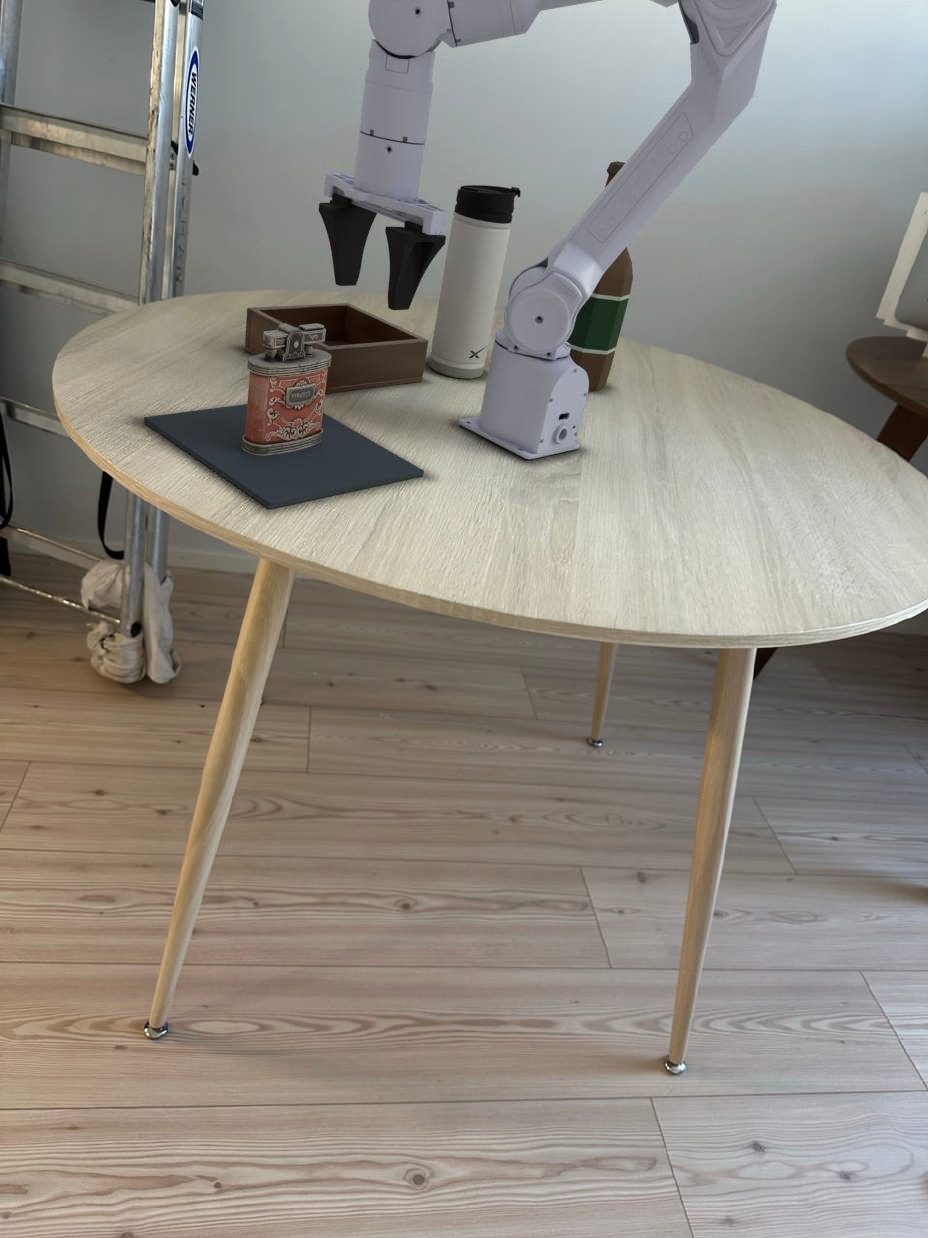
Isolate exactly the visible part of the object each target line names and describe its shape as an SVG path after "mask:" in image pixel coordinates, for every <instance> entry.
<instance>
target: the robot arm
mask: <svg viewBox="0 0 928 1238" xmlns="http://www.w3.org/2000/svg"><path fill="white" fill-rule="evenodd" d="M601 1H603V0H369V2H368V11H367V13H368V14H367V15H368V24H369V27H370V30H371V33H372V35H373V36H374V38H372V39H371V43H370V47H369V52H368V60H369V61H368V68H367V70H366V72H365V78H364V88H363V95H362V103H361V104H362V105H361V112H360V113H361V114H360V123H359V132H358V140H357V150H356V158H355V168H354V175H353V177H352V176H349V175H346V174H343V173H331V172H327V173H325V178H324V190H323V195H324V196H325V197H328V198H331V199H329V202H322V201H321V202H319V204H318V213H319V215H320V217H321V219H322V221H323V222H322V223H323V225H324V227H325V231H326V234H327V237H328V241H329V246H330V247H329V248H330V252H331V259H332V267H333V275H334V282H335V286H336V285H337V286H339V287H353V286H356V287H357V284H358V281H359V278H360V275H361V268H362V263H363V258H364V257H363V256H364V252H365V247H366V243H367V240H368V236H369V233H370V231H371V229H372V226H373V223H374V222H375V219H376V217H377V215H381V216H384V217H387V218H389V219H390V220H395V221H397V222H400V223H402V224H404V225H403V226H385V229H384V232H385V237H386V242H387V248H388V256H389V277H388V286H387V308H388V309H390V310H392V311H406V310H407V311H408V310H410V307H411V305H412V302H413V300H414V297H415V295H416V292H417V290H418V288H419V286H420V283H421V282H422V279H423V277H424V275H425V273H426V271H427V270H428V268H429V266H430V264H431V263H432V261H433V260H434V258H436V256H437V254H439V252H440V251H441V249H442V248H444V246H445V245H446V241H447V236H446V234H447V230H448V229H447V228H448V223H449V222H448V221H449V216H450V211H447V210H445V209H442V208H440V207H438V206H436V205H434V204H433V203H431V202H429V201H427V200H426V199H424V198H422V197H419V196H418V195H419V188H420V180H421V176H422V175H421V174H422V167H423V161H424V153H425V147H426V139H427V132H428V124H429V119H430V111H431V105H432V104H431V103H432V98H433V92H434V84H433V73H434V68H435V59H436V55H437V54H436V53H437V52H436V51H435V50H436V49H437V48H438V47H439V46H440V45H441V44H442V42H443V43H445V44H446V45H447V46H448V47H449V48H451V49H455V48H459V47H464V46H470V45H474V44H479V43H485V42H490V41H495V40H500V39H504V38H510V37H515V36H520V35H525V34H527V32H528V31H529V30H530V28H531V27H532V25H533V24H534V22H535V19H536V18H537V16H538V15H539V14H540V12H542V11H548V10H549V11H550V10H554V9H559V8H566V7H571V6H578V5H583V4H589V3H590V4H591V3H596V2H601ZM650 1H651V2H653V3H655V4H657V5H660V6H662V7H664V8H669V7H671V6H674V5H676V4H677V5H678V8H679V12H680V14H681V17H682V20H683V23H684V25H685V28H686V31H687V34H688V37H689V41H690V42H689V52H690V54H689V55H690V56H689V57H690V83H689V85H688V86H686V88H685V89H684V91H683V92H682V93H681V95H680V96H679V97H678V98H677V99H676V100H675V102H674V103H673V104H672V106H671V107H669V109H668V110H667V111H666V113H665V114H664V115H663V117H662V118H661V119H660V120H659V121H658V123H657V124H656V125H655V126H654V128H653V129H652V130H651V131H650V132H649V133H648V135H647V136H646V137H645V138H644V139H643V141H642V142H641V143H640V145H638V147H637V148H636V149H635V150H634V151H633V153H632V154H631V156H630V157H629V158H628V159H627V160H626V162H624V163H625V164H624V165H623V167H622V168H621V169H620V170H619V172H618V173H617V174H616V175H615V176H614V178H613V179H612V180H611V181H610V183H609V184H608V185H607V186H606V185H605V186H606V187H605V186H604V188H603V190H602V191H601V192H600V194H599V195H598V196H597V197H596V198H595V199H594V201H593V202H592V203H591V204H590V206H589V207H588V208H587V210H586V211H585V212H584V213H583V215H581V216H580V218H579V219H578V220H577V222H575V223H574V225H573V226H572V227H571V229H570V230H569V231H568V233H566V234H565V236H563V238H561V240H559V241H558V242H557V243H556V244H555V245H554V246H553V247H552V248H551V249H550V250H549V252H548V253H547V254H546V255H545V256H544V257H543V258H542V259H541V260H540V261H538V262H536V263H534V264H532V265H530V266H527V267H525V268H523V269H522V270H521V271H519V273H518V274H517V275H516V276H515V277H514V278H513V280H512V282H511V284H510V287H509V290H508V300H507V303H506V305H505V309H504V314H503V323H504V327H503V328H501V329H499V330H497V331H496V332H495V335H494V341H493V346H492V351H491V356H490V360H489V361H490V362H489V367H488V372H487V377H486V382H485V387H484V392H483V398H482V404H481V408H480V412H479V415H478V416H477V415H476V416H472V417H465V418H460V419H459V422H458V423H459V425H460V426H462V427H464V428H465V429H467V430H470V431H471V432H473V433H475V434H477V435H479V436H481V437H483V438H485V439H487V440H488V441H491V442H493V443H494V444H496V445H498V446H500V447H502V448H504V449H506V450H508V451H509V452H511V453H514V454H515V455H518V456H519V457H521V458H523V459H526V460H534V459H538V458H542V457H543V458H544V457H548V456H551V455H556V454H557V455H558V454H561V453H566V452H570V451H574V450H578V449H579V448H580V443H578V442H577V438H578V435H579V430H580V428H581V427H580V426H581V424H582V423H581V422H582V419H583V415H584V411H585V407H586V402H587V399H588V395H589V394H588V393H589V391H588V390H589V379H588V375H587V373H586V371H585V370H584V369H583V368H581V367H580V366H578V365H577V364H575V363H574V361H573V360H572V359H571V357H570V355H569V354H570V350H571V348H570V346H571V345H570V344H569V343H568V342H566V341H567V340H568V338H569V337H570V335H571V333H572V331H573V328H574V324H575V320H576V316H577V314H578V312H579V310H580V309H581V307H582V306H583V305H584V304H585V302H586V301H587V300H588V299H589V298H590V296H591V294H592V293H593V291H594V289H595V287H596V286H597V284H598V282H599V280H600V279H601V277H602V275H603V274H604V272H605V271H606V270H607V269H608V268H609V267H610V265H611V264H612V263H613V262H614V261H615V260H616V258H617V257H618V256H619V255H620V254H621V253H622V251H623V250H624V249H625V248H626V247H627V248H628V245H630V243H631V242H632V241H633V240H634V239H635V238H636V236H637V235H638V234H639V233H640V232H641V230H642V229H643V228H644V227H645V226H646V225H647V223H648V222H649V221H650V220H651V219H652V218H653V217H654V216H655V215H656V213H657V212H658V211H659V210H660V208H661V207H662V206H663V205H664V204H665V202H666V201H667V200H668V199H669V198H670V197H671V195H672V194H673V193H674V192H675V191H676V190H677V189H678V187H679V186H680V185H681V184H682V183H683V181H685V180H686V178H687V177H688V175H690V173H691V172H692V171H693V170H694V169H695V167H696V166H697V165H698V164H699V162H700V161H701V160H703V158H704V157H705V156H706V155H707V153H708V152H709V151H710V150H711V149H712V148H713V146H714V145H715V144H716V143H717V142H718V140H719V139H720V138H722V136H723V135H724V134H725V132H726V131H727V130H728V129H729V128H730V127H731V125H732V124H733V123H734V122H735V120H736V119H737V118H738V117H739V116H740V115H741V114H742V113H743V111H744V110H745V109H746V108H747V107H748V105H749V103H751V100H752V99H753V97H754V94H755V91H756V87H757V82H758V77H759V73H760V69H761V64H762V61H763V55H764V51H765V47H766V43H767V40H768V39H767V38H768V34H769V30H770V27H771V23H772V20H773V18H774V15H775V13H776V10H777V7H778V0H650Z"/></svg>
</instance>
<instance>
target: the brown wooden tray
mask: <svg viewBox="0 0 928 1238" xmlns="http://www.w3.org/2000/svg"><path fill="white" fill-rule="evenodd" d="M246 309H247V310H246V321H245V322H246V323H245V334H244V335H245V337H244V346H243V347H244V349H243V350H244V351H245V352H247V353H249V354H251V355H252V356H254V355H258V354H262V353H265V351H264V345H263V335H264V332H265V331H273V330H277V328H278V326H279V325H280V324H283V323H286V324H288V325H291V326H293V327H295V328H299V325H307V324H321V325H323V326H324V328H325V329H326V333H325V341H323V342H317V343H311V345H312V348H313V349H319V350H323V351H325V352H328V353H329V354H331V365H330V366H329V367H328V371H327V380H326V389H325V394H332V393H339V392H347V391H355V390H363V389H371V388H379V387H386V386H396V385H403V384H412V383H419V382H423V379H424V372H425V371H424V370H425V365H426V360H427V359H426V358H427V353H428V348H429V340H428V339H426V338H424V337H422V336H420V335H418V334H416V333H414V332H412V331H409V330H408V329H405V328H403V327H402V326H401V327H400V326H398V325H396V324H394V323H392V322H390V321H388V320H385V319H384V318H381V317H379V316H377V315H375V314H373V313H370V312H369V311H367V310H364V309H363V308H359V307H358V306H355V305H353V304H351V303H349V302H339V303H338V302H337V303H319V304H297V305H296V304H295V305H294V304H293V305H277V306H275V305H274V306H255V307H247V308H246Z"/></svg>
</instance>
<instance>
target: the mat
mask: <svg viewBox="0 0 928 1238" xmlns="http://www.w3.org/2000/svg"><path fill="white" fill-rule="evenodd" d="M246 417H247V403H245V404H238V405H237V404H236V405H230V406H229V405H228V406H222V407H213V408H205V409H198V410H190V411H181V412H175V413H166V414H165V413H164V414H158V415H150V416H143V423H144V424H146V425H147V426H148V427H150V428H151V429H153V430H154V431H155V432H156V433H158V434H160V435H161V436H163V437H164V438H165V439H167V440H169V441H170V442H171V443H173V444H174V445H176V446H178V447H179V448H180V449H182V450H183V451H185V452H186V453H187V454H189V455H190V456H191V457H193V458H195V459H196V460H198V461H199V462H201V463H202V464H204V465H205V466H206V467H207V468H209V469H211V470H212V471H213V472H215V473H216V474H218V475H219V476H221V477H222V478H224V480H227V481H228V482H230V483H231V484H232V485H234V486H235V487H237V488H238V489H239V490H241V491H242V492H244V493H245V494H247V495H249V497H251V498H253V499H254V500H255V501H256V502H258V503H260V504H261V505H263V506H264V507H266V508H267V509H268V510H271V509H276V508H280V507H285V506H289V505H294V504H299V503H303V502H307V501H308V502H309V501H314V500H316V499H322V498H327V497H331V496H335V495H341V494H345V493H351V492H355V491H359V490H364V489H369V488H373V487H378V486H382V485H387V484H392V483H396V482H401V481H406V480H411V479H415V478H418V477H423V476H424V474H425V470H424V469H422V468H420V467H419V466H417V465H415V464H413V463H411V462H410V461H408V460H406V459H404V457H401V456H399V455H398V454H395V453H394V452H392V451H390V450H389V449H387V448H386V447H384V446H382V445H381V444H378V443H377V442H375V441H373V440H372V439H370V438H368V437H366V436H365V435H363V434H361V433H359V432H358V431H355V430H354V429H352V428H350V427H349V426H347V425H346V424H344V423H341V422H340V421H338V420H336V419H334V418H333V417H331V416H329V415H328V414H326V413H324V412H323V415H322V424H321V428H322V429H323V434H322V441H321V442H320V443H317V444H315V445H312V446H310V447H307V448H303V449H300V450H296V451H291V452H286V453H280V454H272V455H254V454H251V453H248V452H246V451H245V450H243V448H242V440H243V435H245V430H246Z"/></svg>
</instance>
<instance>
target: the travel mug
mask: <svg viewBox="0 0 928 1238" xmlns="http://www.w3.org/2000/svg"><path fill="white" fill-rule="evenodd" d="M516 196H517V198H521V189H520V188H519V187H517V186H511V187H505V186H497V185H485V184H484V185H483V184H468V185H467V184H466V185H461V186H460V188H458V189H457V192H456V198H455V201H456V203H455V205H454V210H453V218H452V221H451V226H450V231H449V239H448V244H447V249H446V250H447V251H446V255H445V256H446V257H445V262H444V269H443V273H442V274H443V275H442V281H441V288H440V292H439V299H438V305H437V313H436V318H435V324H434V329H433V337H432V344H431V349H430V350H431V351H430V354H429V361H428V364H429V367H430V368H431V369H432V370H433V371H435V372H437V373H439V374H441V375H444V376H448V377H450V378H456V379H464V380H466V379H467V380H468V379H469V380H470V379H471V380H472V379H478V378H479V377H481V376H482V375H483V373H484V369H485V366H486V365H485V364H486V362H485V361H486V359H487V355H488V348H489V343H490V338H491V333H492V328H493V323H494V318H495V312H496V308H497V302H498V297H499V291H500V286H501V281H502V278H503V277H502V275H503V271H504V266H505V261H506V255H507V250H508V245H509V239H510V234H511V227H512V224H513V222H512V221H513V213H514V212H515V198H516Z"/></svg>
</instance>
